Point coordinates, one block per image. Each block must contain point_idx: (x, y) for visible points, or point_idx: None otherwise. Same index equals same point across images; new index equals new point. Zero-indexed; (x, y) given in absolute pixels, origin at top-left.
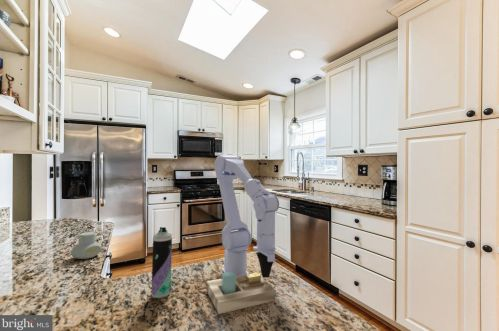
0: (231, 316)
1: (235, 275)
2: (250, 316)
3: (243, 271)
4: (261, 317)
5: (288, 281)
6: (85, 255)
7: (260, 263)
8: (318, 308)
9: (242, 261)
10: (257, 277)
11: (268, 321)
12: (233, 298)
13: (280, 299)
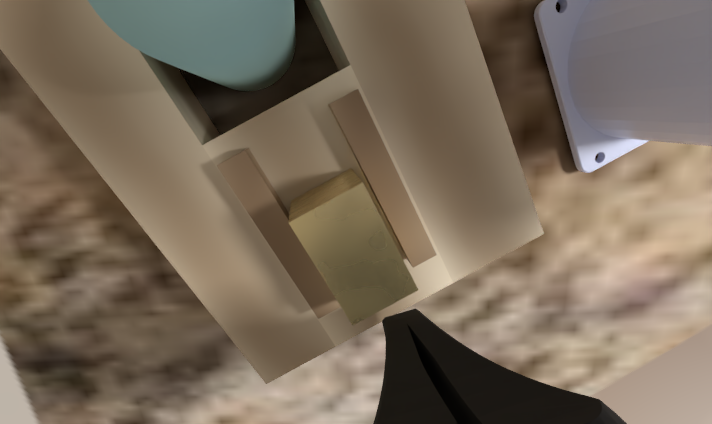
0: (15, 85)
1: (186, 67)
2: (58, 213)
3: (607, 120)
4: (69, 276)
5: None
6: None
7: (400, 405)
8: None
9: (698, 110)
10: (335, 291)
11: (41, 314)
12: (41, 83)
13: None
